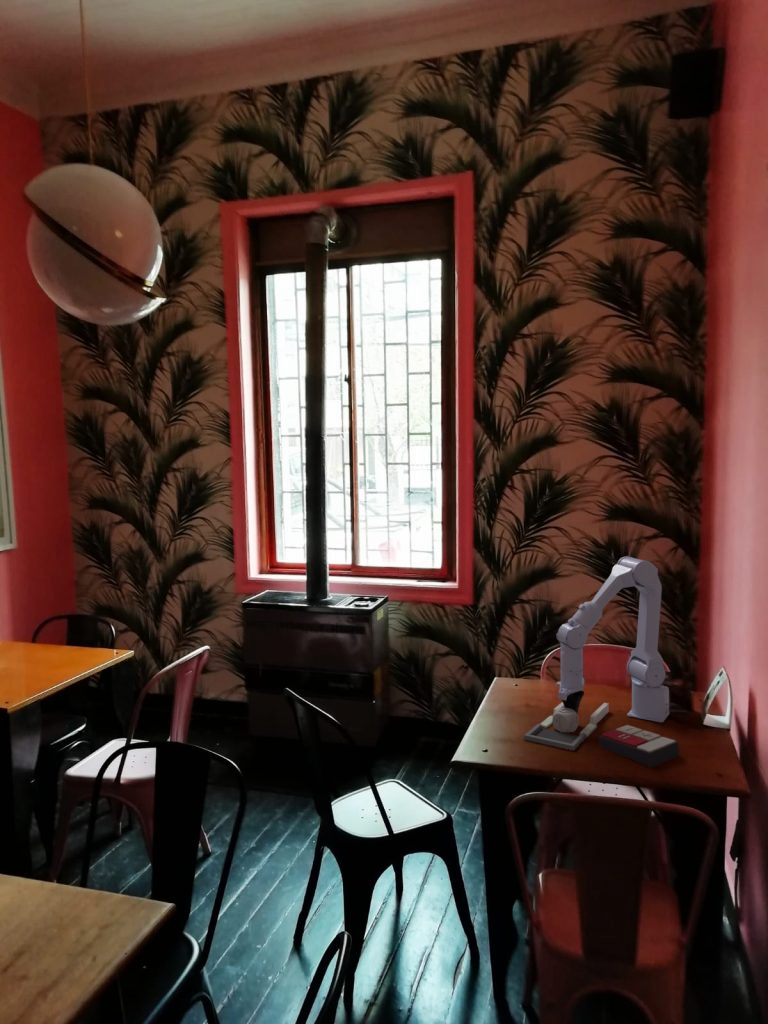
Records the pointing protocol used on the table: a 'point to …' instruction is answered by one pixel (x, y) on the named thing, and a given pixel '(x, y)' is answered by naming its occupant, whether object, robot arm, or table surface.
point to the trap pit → (554, 738)
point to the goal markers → (586, 730)
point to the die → (565, 720)
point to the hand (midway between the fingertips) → (571, 718)
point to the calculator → (640, 745)
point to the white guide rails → (596, 715)
